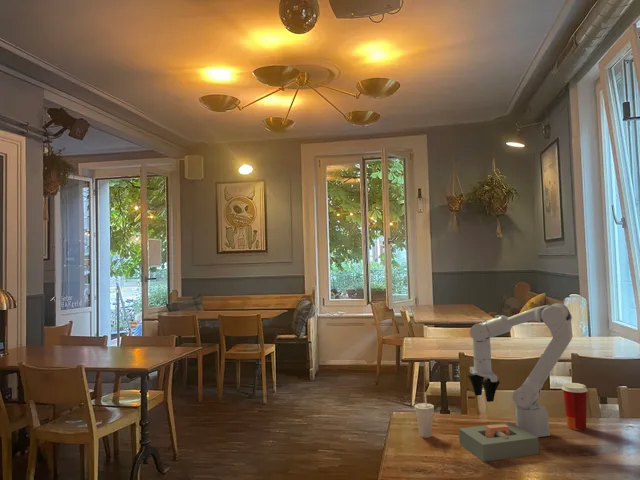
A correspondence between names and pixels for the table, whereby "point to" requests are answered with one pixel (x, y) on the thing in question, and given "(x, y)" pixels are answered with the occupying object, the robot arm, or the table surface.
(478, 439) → the grey panel with window
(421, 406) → the smoothie
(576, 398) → the paper cup
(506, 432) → the orange arch block
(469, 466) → the table surface
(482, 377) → the robot arm
